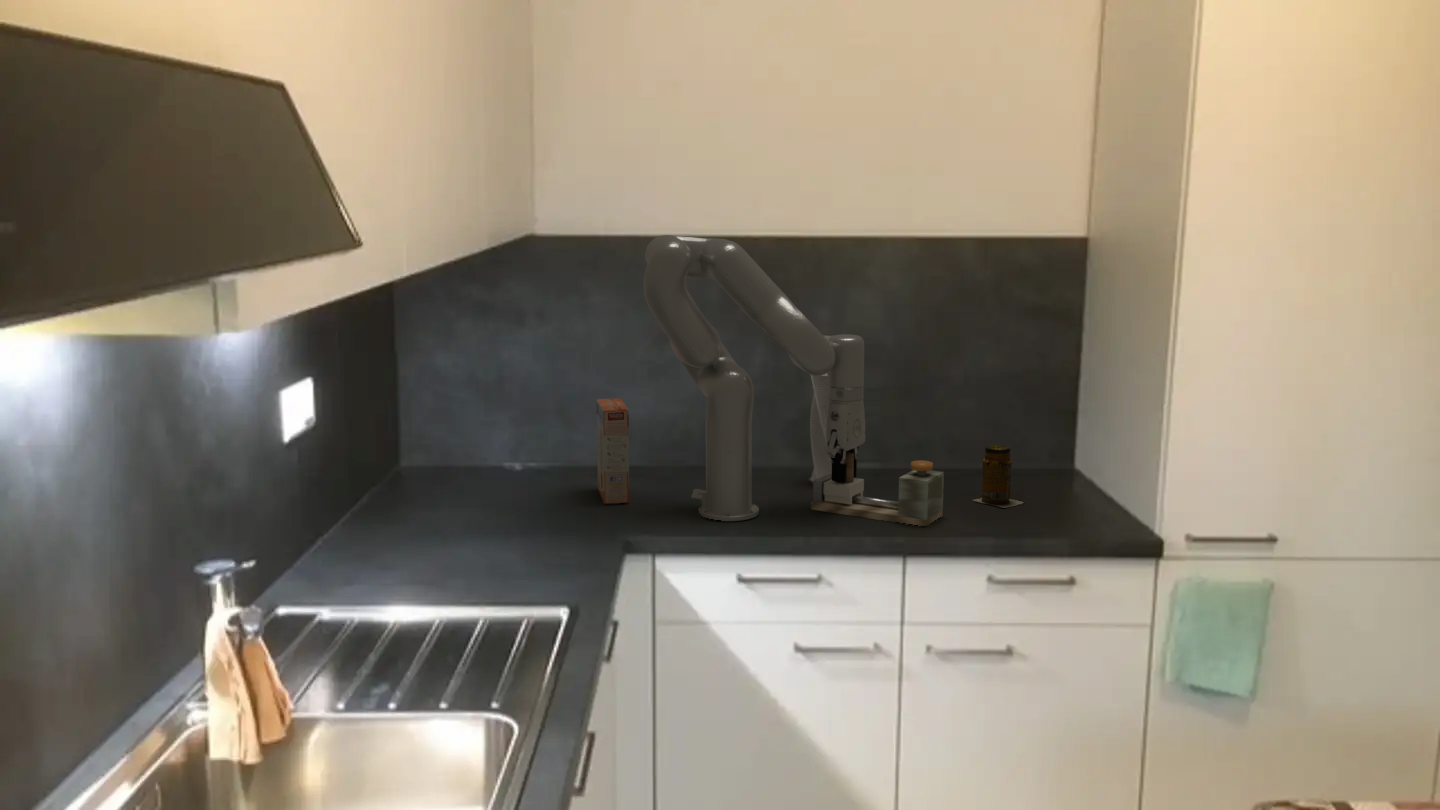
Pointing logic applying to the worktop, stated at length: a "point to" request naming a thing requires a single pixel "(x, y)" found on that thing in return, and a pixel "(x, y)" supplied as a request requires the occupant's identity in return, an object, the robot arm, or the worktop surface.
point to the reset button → (922, 467)
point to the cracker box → (613, 450)
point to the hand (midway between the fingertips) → (844, 478)
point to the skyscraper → (819, 428)
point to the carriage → (844, 484)
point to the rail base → (870, 512)
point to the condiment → (997, 477)
